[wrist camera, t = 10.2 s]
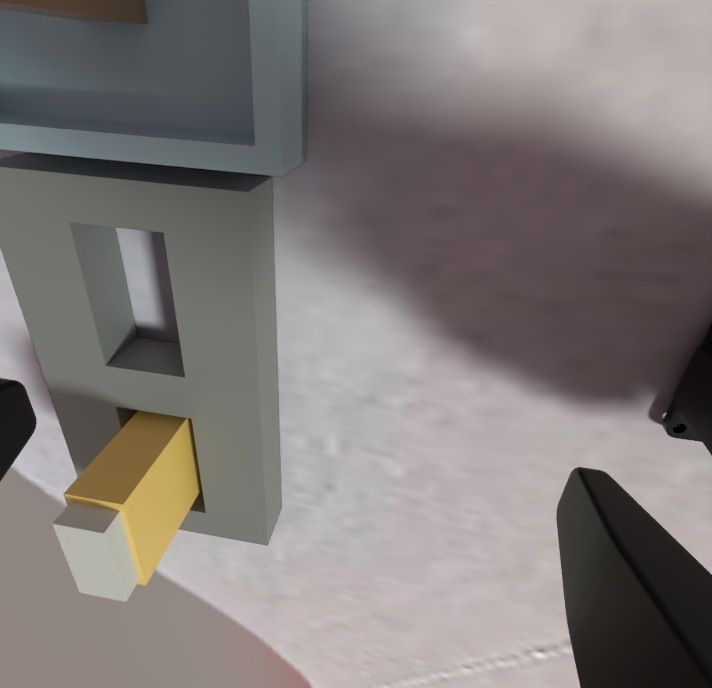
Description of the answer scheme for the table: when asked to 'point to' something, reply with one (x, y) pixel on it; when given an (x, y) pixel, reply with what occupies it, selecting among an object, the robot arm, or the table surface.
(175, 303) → the block
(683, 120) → the table surface
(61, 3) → the block
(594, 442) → the table surface
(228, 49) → the parts tray
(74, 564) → the block
